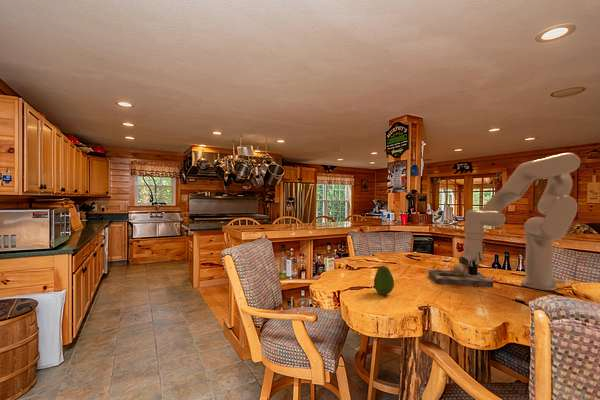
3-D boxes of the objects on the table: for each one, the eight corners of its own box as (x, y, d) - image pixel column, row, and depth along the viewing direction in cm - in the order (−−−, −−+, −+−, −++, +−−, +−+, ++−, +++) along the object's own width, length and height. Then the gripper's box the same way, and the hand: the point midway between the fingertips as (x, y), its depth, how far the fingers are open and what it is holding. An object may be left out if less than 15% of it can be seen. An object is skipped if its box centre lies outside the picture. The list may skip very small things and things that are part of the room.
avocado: (373, 296, 117) (373, 267, 117) (373, 290, 124) (374, 262, 124) (394, 298, 115) (394, 268, 115) (393, 292, 122) (393, 264, 122)
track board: (479, 278, 145) (479, 271, 145) (493, 287, 131) (493, 279, 131) (428, 275, 149) (428, 269, 149) (436, 283, 135) (436, 276, 135)
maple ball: (464, 262, 142) (451, 262, 143) (469, 264, 136) (455, 265, 137) (465, 274, 142) (452, 274, 143) (470, 277, 136) (456, 277, 137)
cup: (477, 274, 152) (477, 259, 152) (463, 274, 152) (463, 259, 152) (469, 270, 160) (469, 256, 159) (455, 270, 160) (456, 256, 160)
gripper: (459, 233, 146) (458, 270, 146) (472, 238, 131) (470, 278, 131) (475, 234, 144) (474, 271, 145) (490, 238, 130) (489, 279, 130)
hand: (472, 274), depth 138 cm, fingers closed
